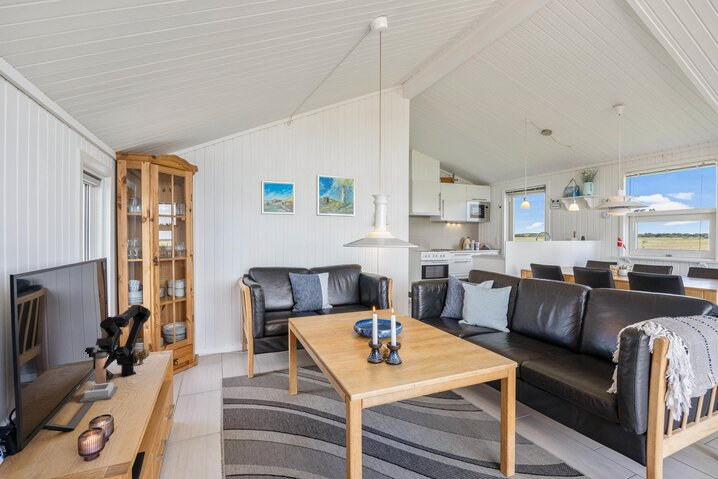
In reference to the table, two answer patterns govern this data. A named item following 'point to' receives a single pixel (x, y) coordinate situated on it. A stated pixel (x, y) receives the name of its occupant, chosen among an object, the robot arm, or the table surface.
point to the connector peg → (100, 368)
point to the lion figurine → (143, 355)
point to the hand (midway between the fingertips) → (99, 368)
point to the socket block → (100, 392)
